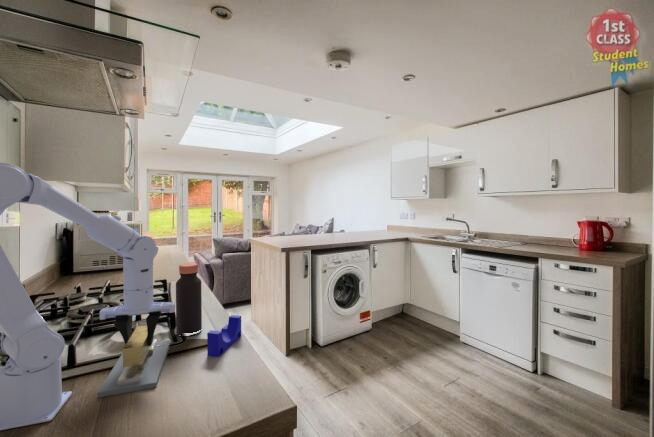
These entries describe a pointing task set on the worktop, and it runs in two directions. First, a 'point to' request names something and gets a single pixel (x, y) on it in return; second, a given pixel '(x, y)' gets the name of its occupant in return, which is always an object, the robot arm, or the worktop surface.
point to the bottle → (188, 300)
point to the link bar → (136, 347)
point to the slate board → (149, 378)
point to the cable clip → (224, 337)
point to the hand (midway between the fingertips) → (139, 345)
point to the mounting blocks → (135, 370)
